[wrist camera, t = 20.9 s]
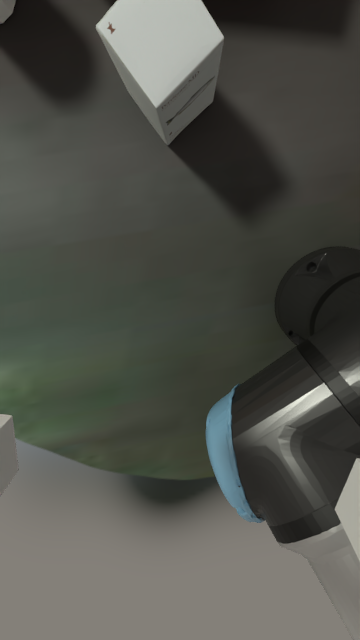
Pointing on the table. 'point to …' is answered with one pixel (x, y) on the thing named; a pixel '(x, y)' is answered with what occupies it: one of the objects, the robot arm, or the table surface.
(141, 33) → the supplement box
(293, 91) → the table surface
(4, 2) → the white cup
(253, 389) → the robot arm
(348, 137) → the table surface
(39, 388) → the table surface
